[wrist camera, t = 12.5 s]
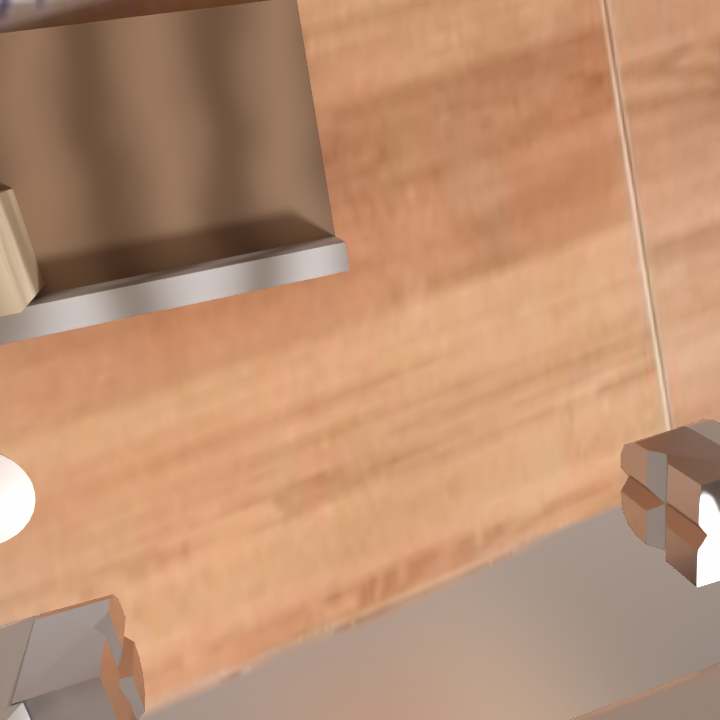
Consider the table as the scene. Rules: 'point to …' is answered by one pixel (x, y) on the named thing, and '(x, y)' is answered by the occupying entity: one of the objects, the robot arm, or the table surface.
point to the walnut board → (163, 162)
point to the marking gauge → (16, 259)
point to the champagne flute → (14, 499)
